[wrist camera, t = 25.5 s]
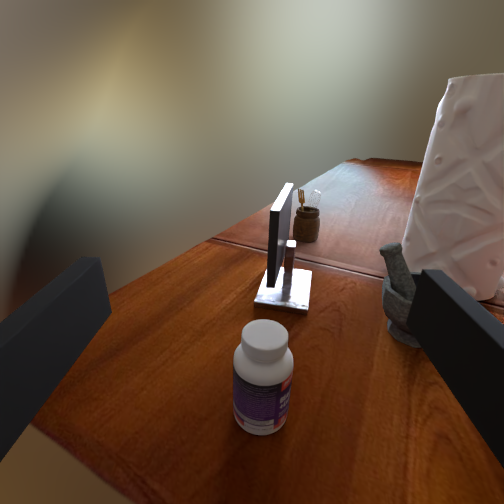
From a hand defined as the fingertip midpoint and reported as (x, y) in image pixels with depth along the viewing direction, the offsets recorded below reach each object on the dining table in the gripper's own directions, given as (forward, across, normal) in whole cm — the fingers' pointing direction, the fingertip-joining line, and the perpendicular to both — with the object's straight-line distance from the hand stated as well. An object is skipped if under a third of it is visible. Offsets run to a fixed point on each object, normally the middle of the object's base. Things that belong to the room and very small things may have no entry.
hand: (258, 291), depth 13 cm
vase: (+38, +34, -20) cm, 55 cm away
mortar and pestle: (+23, +21, -20) cm, 37 cm away
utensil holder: (+55, +11, -20) cm, 60 cm away
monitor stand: (+32, +4, -20) cm, 38 cm away
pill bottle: (+10, +1, -20) cm, 22 cm away
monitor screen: (+32, +3, -15) cm, 36 cm away
